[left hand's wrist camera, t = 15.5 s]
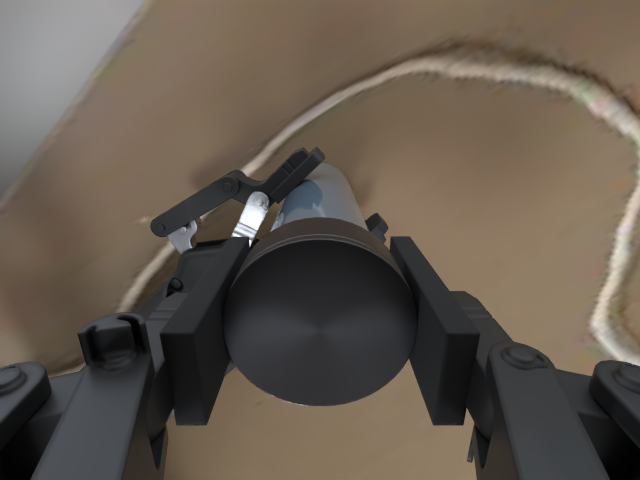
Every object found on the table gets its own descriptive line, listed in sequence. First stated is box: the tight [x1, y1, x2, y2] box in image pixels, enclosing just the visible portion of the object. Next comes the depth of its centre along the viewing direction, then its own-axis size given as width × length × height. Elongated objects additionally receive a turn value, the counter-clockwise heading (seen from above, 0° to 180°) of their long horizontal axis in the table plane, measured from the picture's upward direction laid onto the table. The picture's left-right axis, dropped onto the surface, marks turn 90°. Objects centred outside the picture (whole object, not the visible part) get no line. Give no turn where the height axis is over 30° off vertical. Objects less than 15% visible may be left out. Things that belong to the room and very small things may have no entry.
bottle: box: [269, 162, 370, 233], centre depth 19 cm, size 5×5×18 cm
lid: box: [222, 217, 418, 406], centre depth 11 cm, size 6×6×2 cm
